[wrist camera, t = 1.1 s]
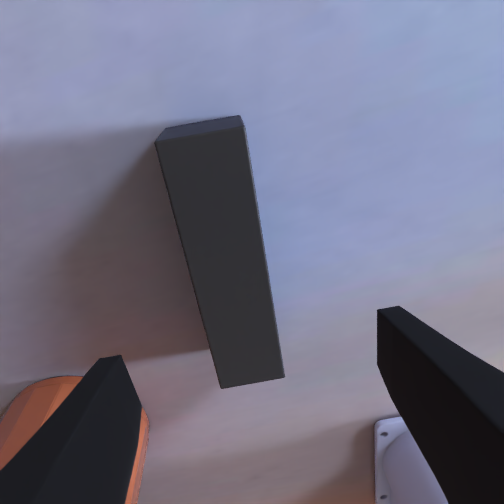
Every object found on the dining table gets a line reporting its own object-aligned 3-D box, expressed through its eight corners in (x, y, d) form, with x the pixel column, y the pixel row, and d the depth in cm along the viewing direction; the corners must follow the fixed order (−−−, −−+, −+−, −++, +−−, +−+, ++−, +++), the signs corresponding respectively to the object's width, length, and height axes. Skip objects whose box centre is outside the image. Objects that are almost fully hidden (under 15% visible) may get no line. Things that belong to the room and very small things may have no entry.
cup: (165, 456, 25) (149, 576, 19) (40, 479, 25) (-14, 606, 19) (126, 363, 21) (93, 477, 15) (-21, 390, 21) (-110, 514, 15)
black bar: (276, 338, 21) (285, 378, 19) (220, 348, 21) (220, 389, 18) (240, 114, 16) (245, 125, 13) (164, 127, 16) (153, 141, 13)
